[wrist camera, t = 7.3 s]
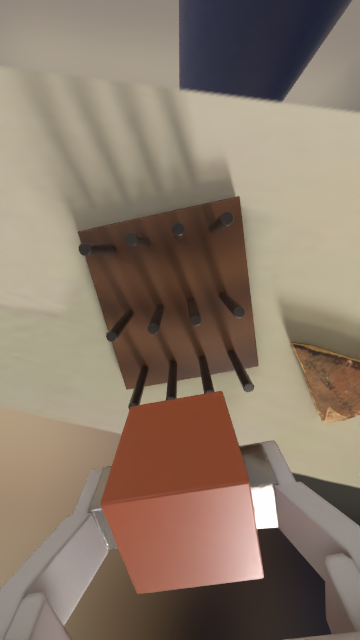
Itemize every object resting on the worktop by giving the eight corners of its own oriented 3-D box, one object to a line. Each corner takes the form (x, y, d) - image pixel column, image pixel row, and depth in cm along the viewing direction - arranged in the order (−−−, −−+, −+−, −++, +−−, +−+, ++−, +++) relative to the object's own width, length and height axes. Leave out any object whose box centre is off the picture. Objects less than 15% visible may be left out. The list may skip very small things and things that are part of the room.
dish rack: (82, 232, 21) (35, 223, 14) (236, 198, 20) (265, 172, 13) (128, 384, 25) (109, 433, 18) (255, 362, 24) (283, 404, 18)
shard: (286, 338, 24) (294, 345, 22) (360, 307, 23) (375, 311, 21) (315, 417, 26) (324, 429, 25) (382, 392, 25) (397, 403, 24)
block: (130, 406, 10) (98, 504, 6) (222, 390, 10) (250, 481, 6) (151, 475, 11) (136, 595, 7) (234, 462, 11) (264, 579, 7)
